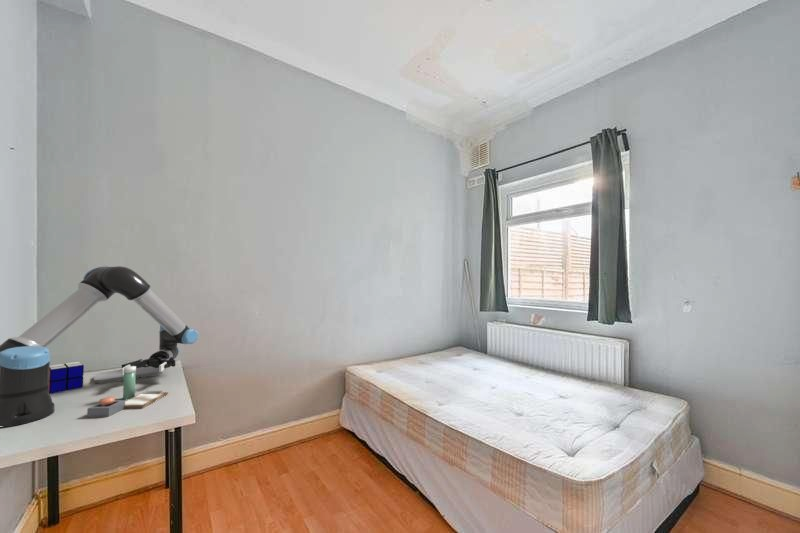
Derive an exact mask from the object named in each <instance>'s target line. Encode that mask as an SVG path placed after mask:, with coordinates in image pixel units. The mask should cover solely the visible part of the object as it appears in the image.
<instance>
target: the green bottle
mask: <svg viewBox="0 0 800 533" xmlns="http://www.w3.org/2000/svg"><path fill="white" fill-rule="evenodd" d="M135 377H136V366H129V367H125V368H124V380H123V382H122V383H123V385H122V386H123V388H122V390H123V391H122V400H125V401H126V399H131V398H133V397H135V396H136V378H135Z"/></svg>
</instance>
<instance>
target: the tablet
mask: <svg viewBox="0 0 800 533" xmlns="http://www.w3.org/2000/svg"><path fill="white" fill-rule="evenodd" d="M164 372H165V369H164V370H163V371H162V372H159V368H154V367H150V366H149V367H141V368H136V377H135V379H140V378H139V377H141V378H146V377H145V376H148V377H153V376H152V375H155V376H159V374H160V375H162V374H164ZM119 380H122V381H124V375H121V369H115V370H107V371H102V372H98V373H95V375H94V377H93V382H95V385H101V383H102V384H107V382H108V383H114V382H113V381H115V382H120V381H119Z"/></svg>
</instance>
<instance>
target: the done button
mask: <svg viewBox="0 0 800 533" xmlns="http://www.w3.org/2000/svg"><path fill="white" fill-rule="evenodd" d="M115 400H116V397H115V396H108V397H103V398H101V399H99V400H98V401H99V402H98V403H99V405H109V404H112V403H114V402H115Z"/></svg>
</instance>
